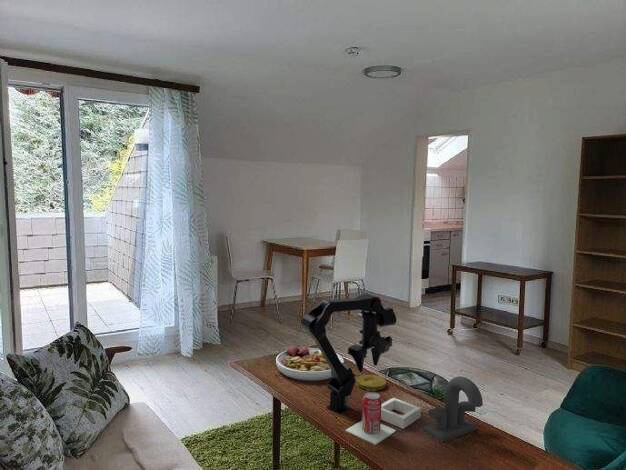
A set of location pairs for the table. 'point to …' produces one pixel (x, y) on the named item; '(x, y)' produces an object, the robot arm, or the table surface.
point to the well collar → (410, 411)
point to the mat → (371, 437)
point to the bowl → (304, 364)
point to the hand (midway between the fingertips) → (368, 368)
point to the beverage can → (371, 412)
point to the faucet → (455, 410)
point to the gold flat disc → (371, 382)
